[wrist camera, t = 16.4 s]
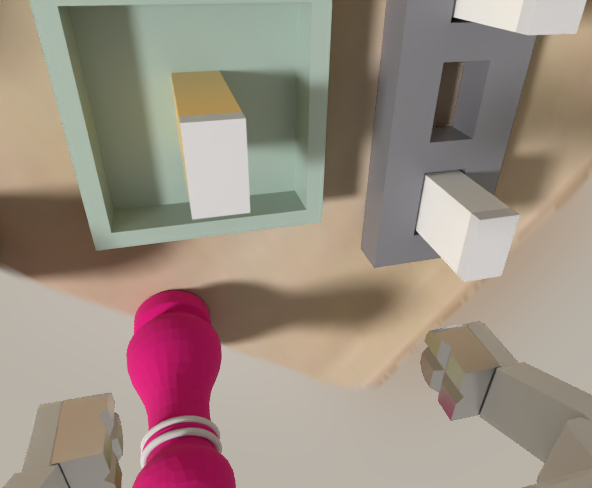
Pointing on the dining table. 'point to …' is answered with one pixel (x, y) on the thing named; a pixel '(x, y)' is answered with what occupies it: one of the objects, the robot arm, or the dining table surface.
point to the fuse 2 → (465, 224)
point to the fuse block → (420, 115)
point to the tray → (162, 114)
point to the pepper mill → (177, 393)
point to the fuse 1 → (523, 15)
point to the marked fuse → (212, 144)
